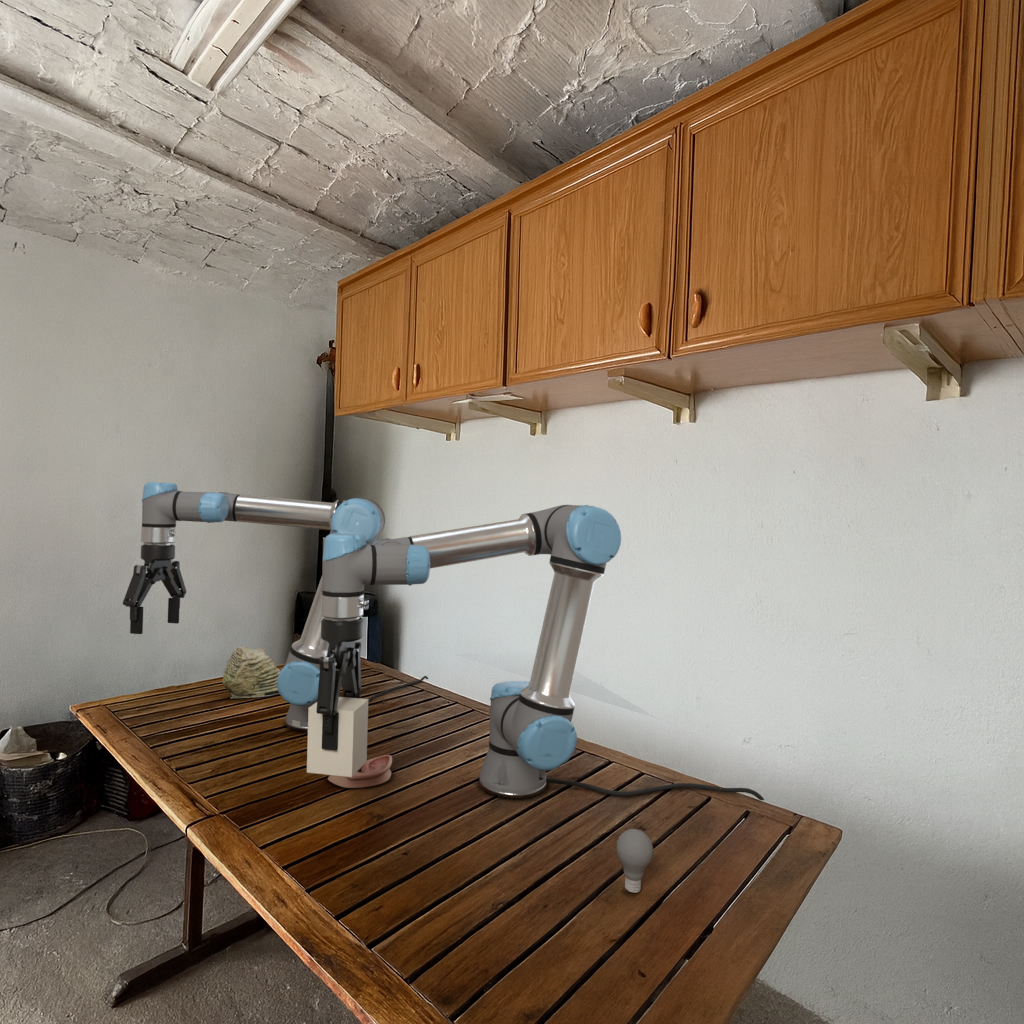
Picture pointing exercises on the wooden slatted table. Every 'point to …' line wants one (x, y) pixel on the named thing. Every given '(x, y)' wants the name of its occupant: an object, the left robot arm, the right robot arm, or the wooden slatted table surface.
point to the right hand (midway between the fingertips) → (338, 740)
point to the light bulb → (634, 857)
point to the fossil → (250, 674)
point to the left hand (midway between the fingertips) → (155, 628)
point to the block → (339, 739)
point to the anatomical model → (367, 774)
